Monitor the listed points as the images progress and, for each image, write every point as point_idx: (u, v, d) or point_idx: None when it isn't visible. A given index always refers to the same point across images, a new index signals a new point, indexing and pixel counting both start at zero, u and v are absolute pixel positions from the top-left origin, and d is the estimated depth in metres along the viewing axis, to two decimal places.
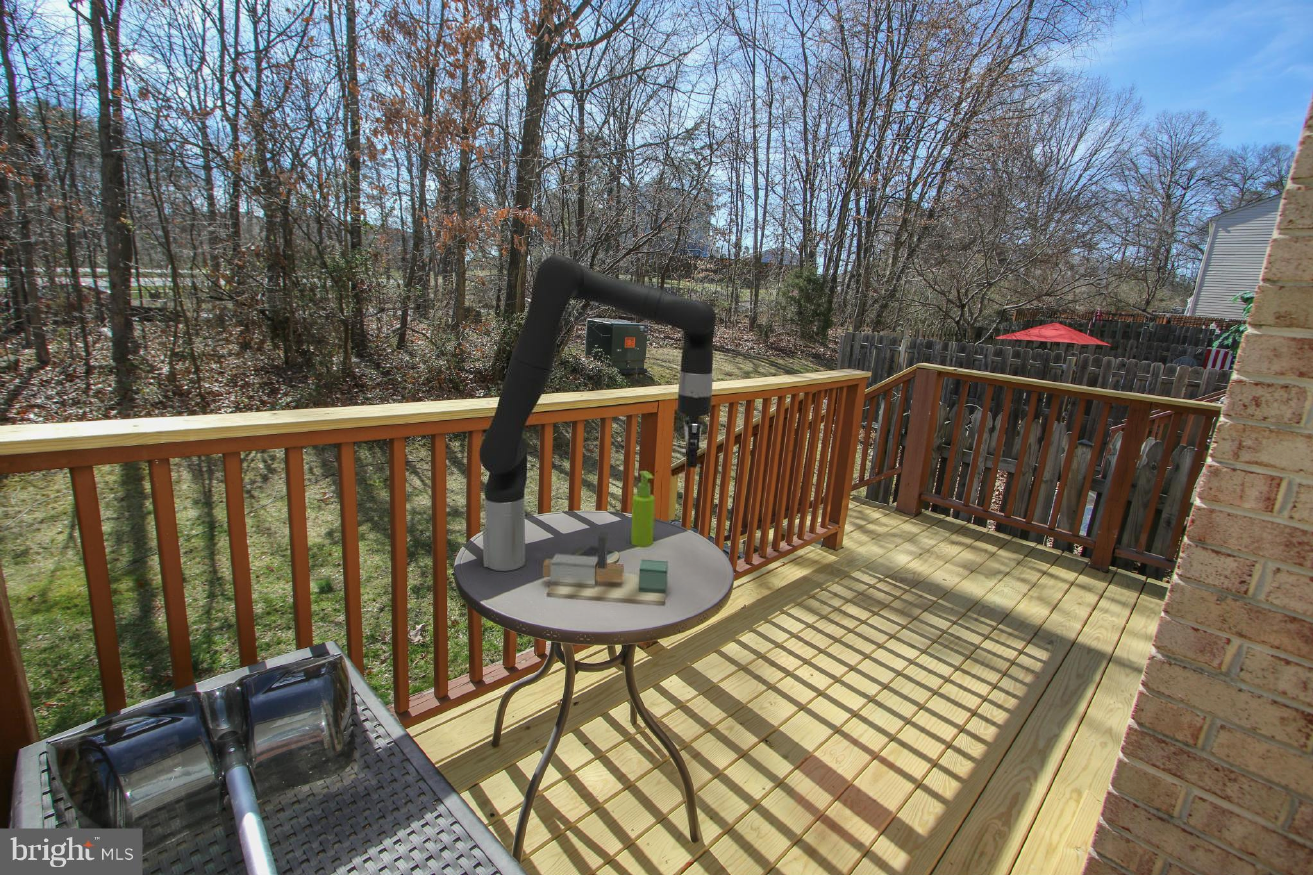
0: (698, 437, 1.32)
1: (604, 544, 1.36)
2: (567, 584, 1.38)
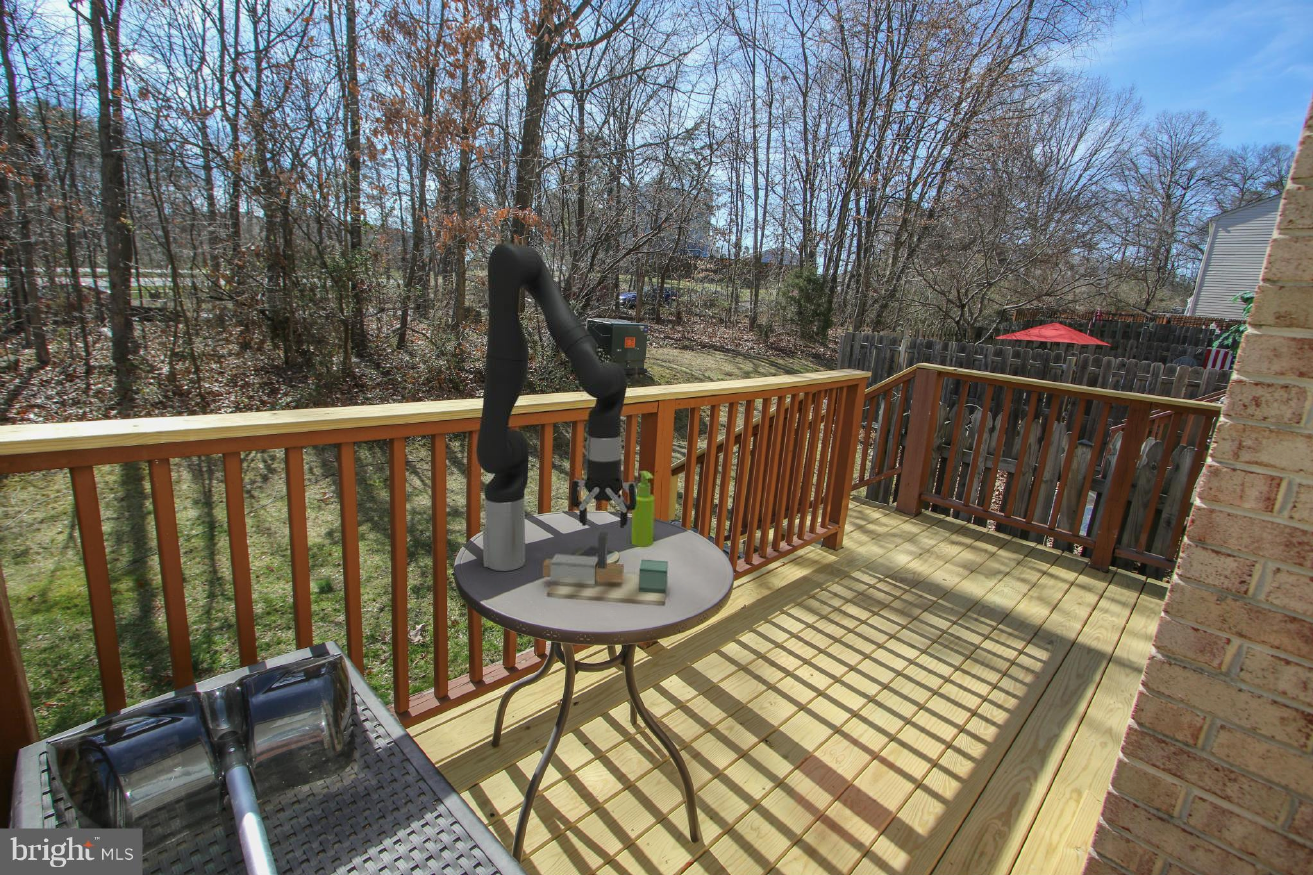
0: (635, 493, 1.35)
1: (604, 544, 1.36)
2: (567, 584, 1.38)
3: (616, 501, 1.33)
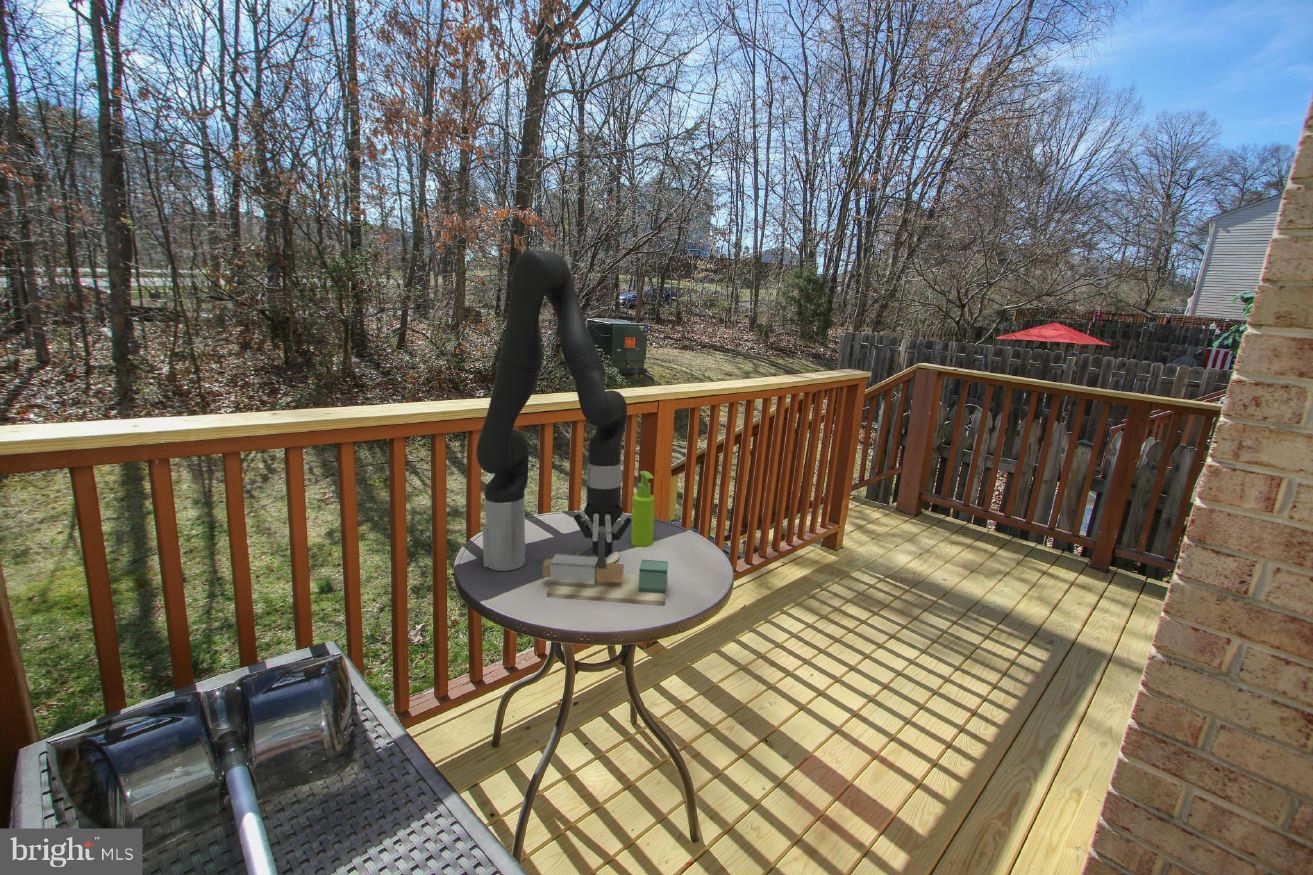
0: None
1: (604, 544, 1.36)
2: (567, 584, 1.38)
3: (607, 529, 1.35)
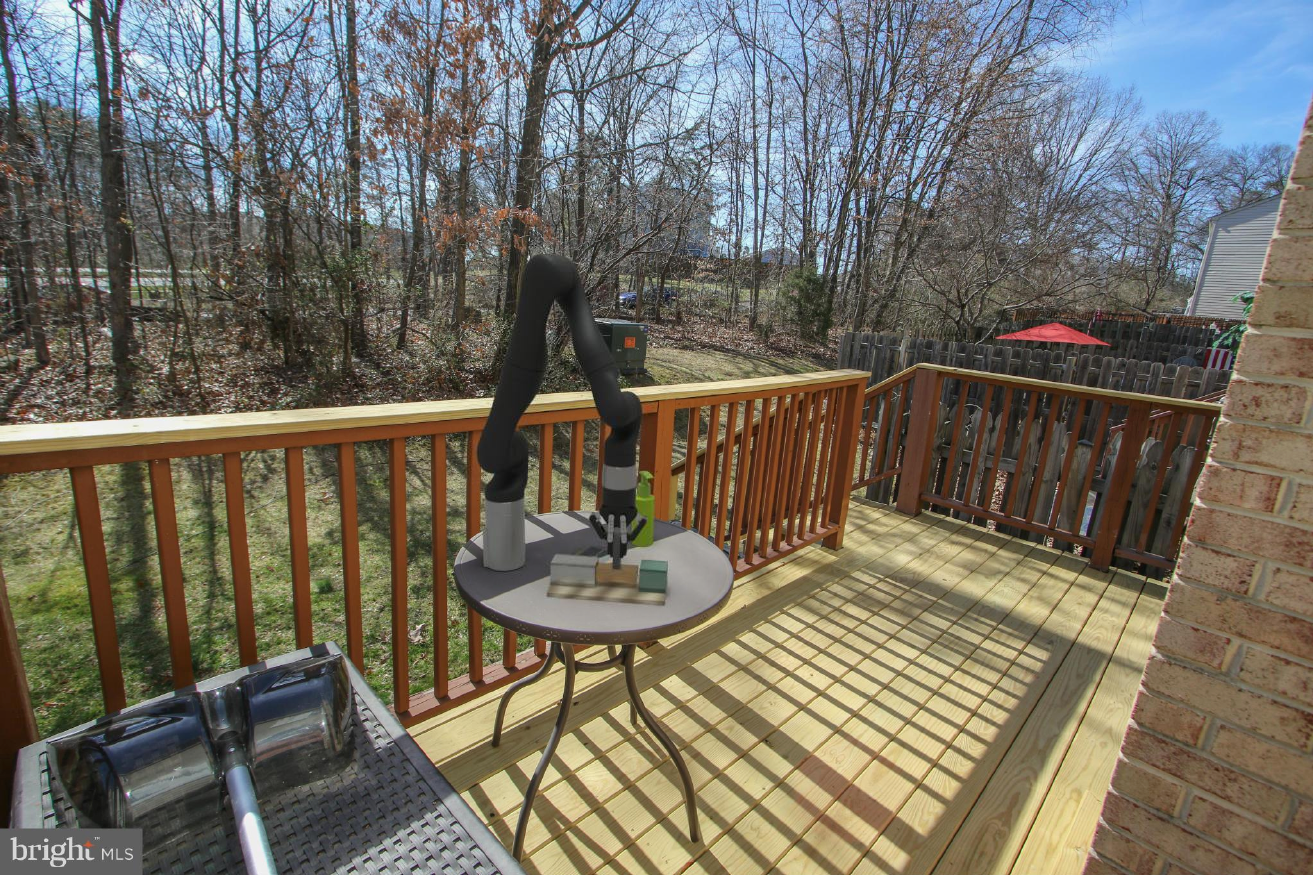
0: None
1: (619, 545, 1.36)
2: (567, 584, 1.38)
3: (623, 530, 1.34)
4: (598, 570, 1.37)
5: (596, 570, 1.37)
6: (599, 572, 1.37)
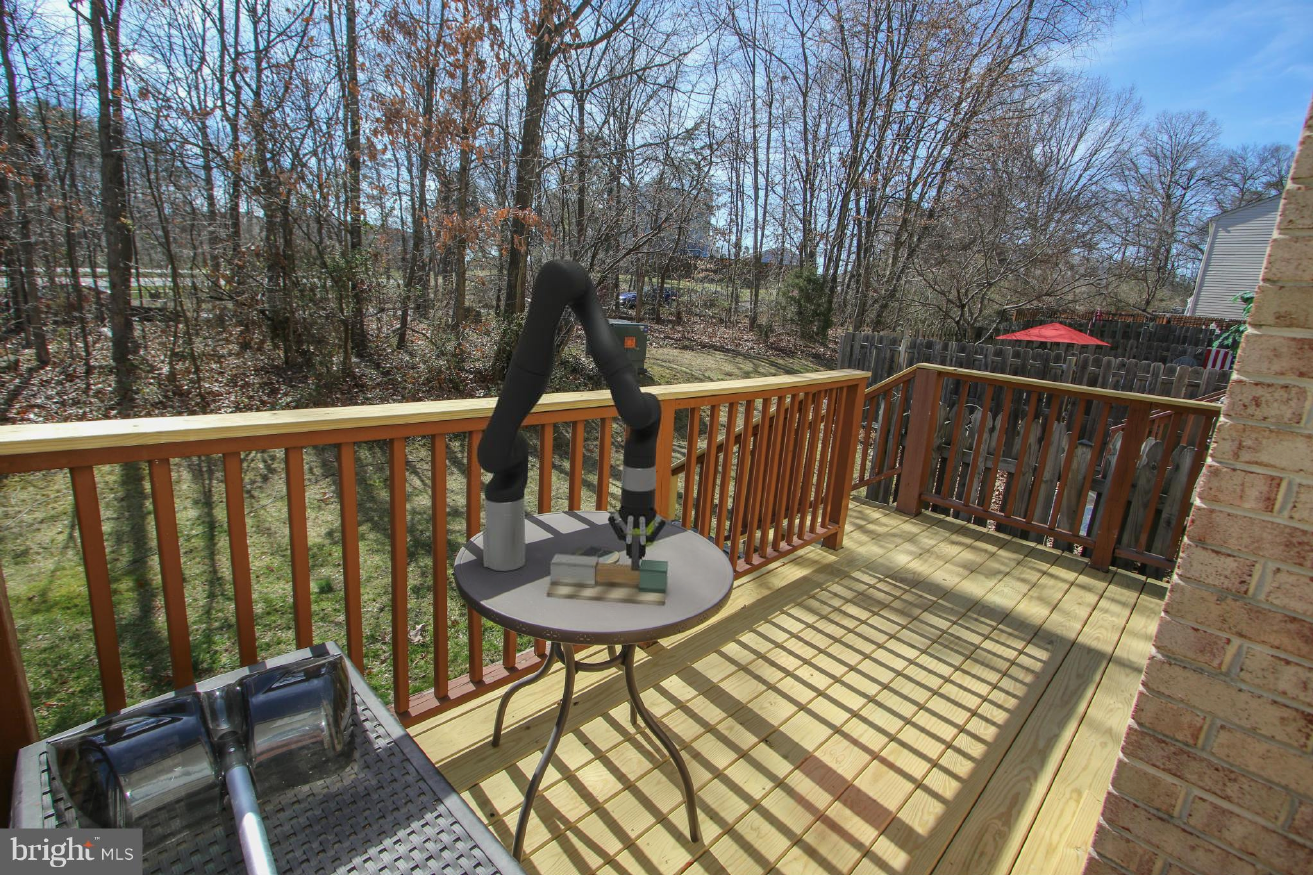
0: None
1: (638, 546, 1.35)
2: (567, 584, 1.38)
3: (642, 531, 1.34)
4: (617, 571, 1.37)
5: (615, 571, 1.37)
6: (618, 574, 1.37)
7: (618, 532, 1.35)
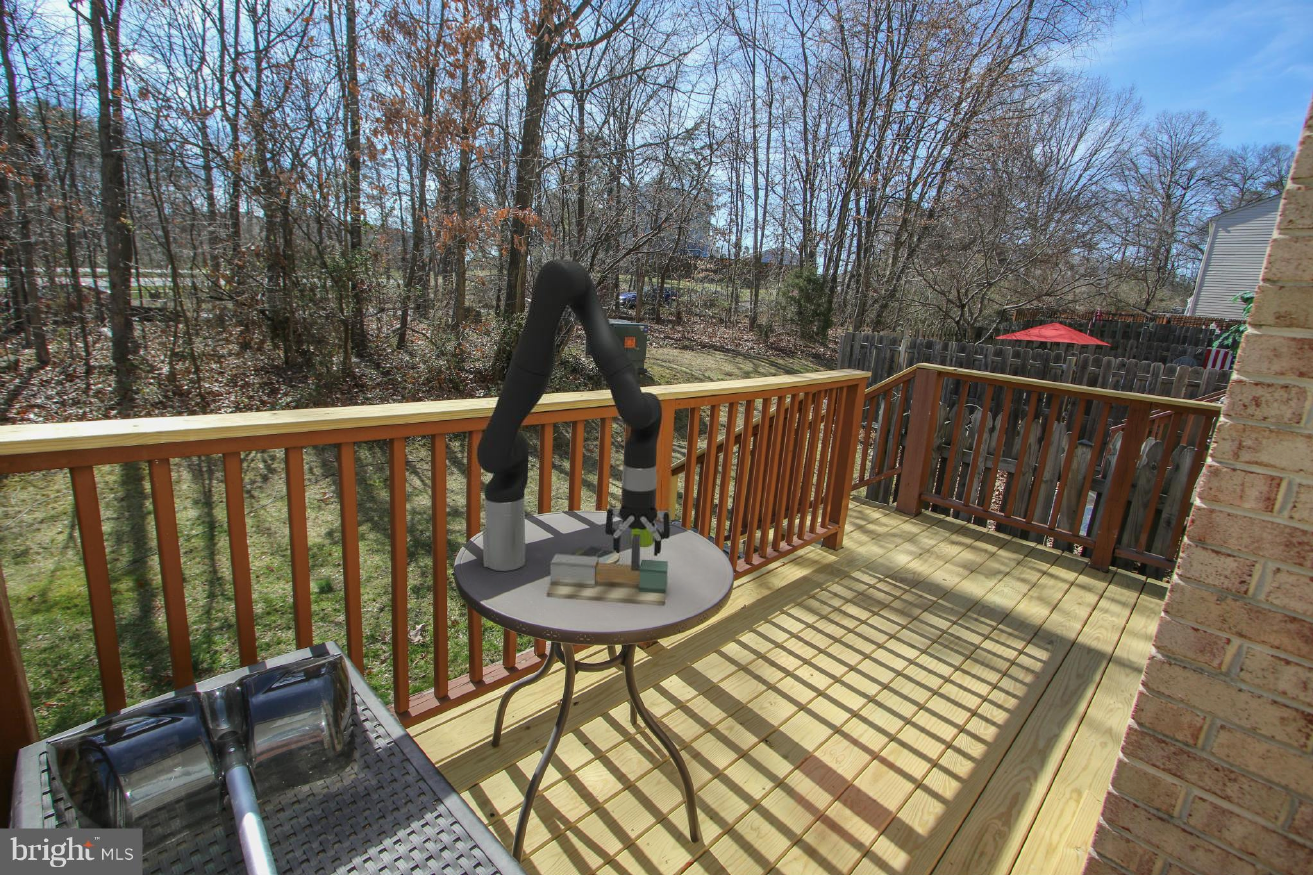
0: None
1: (638, 546, 1.35)
2: (567, 584, 1.38)
3: (651, 530, 1.34)
4: (617, 571, 1.37)
5: (615, 571, 1.37)
6: (618, 574, 1.37)
7: (609, 526, 1.35)
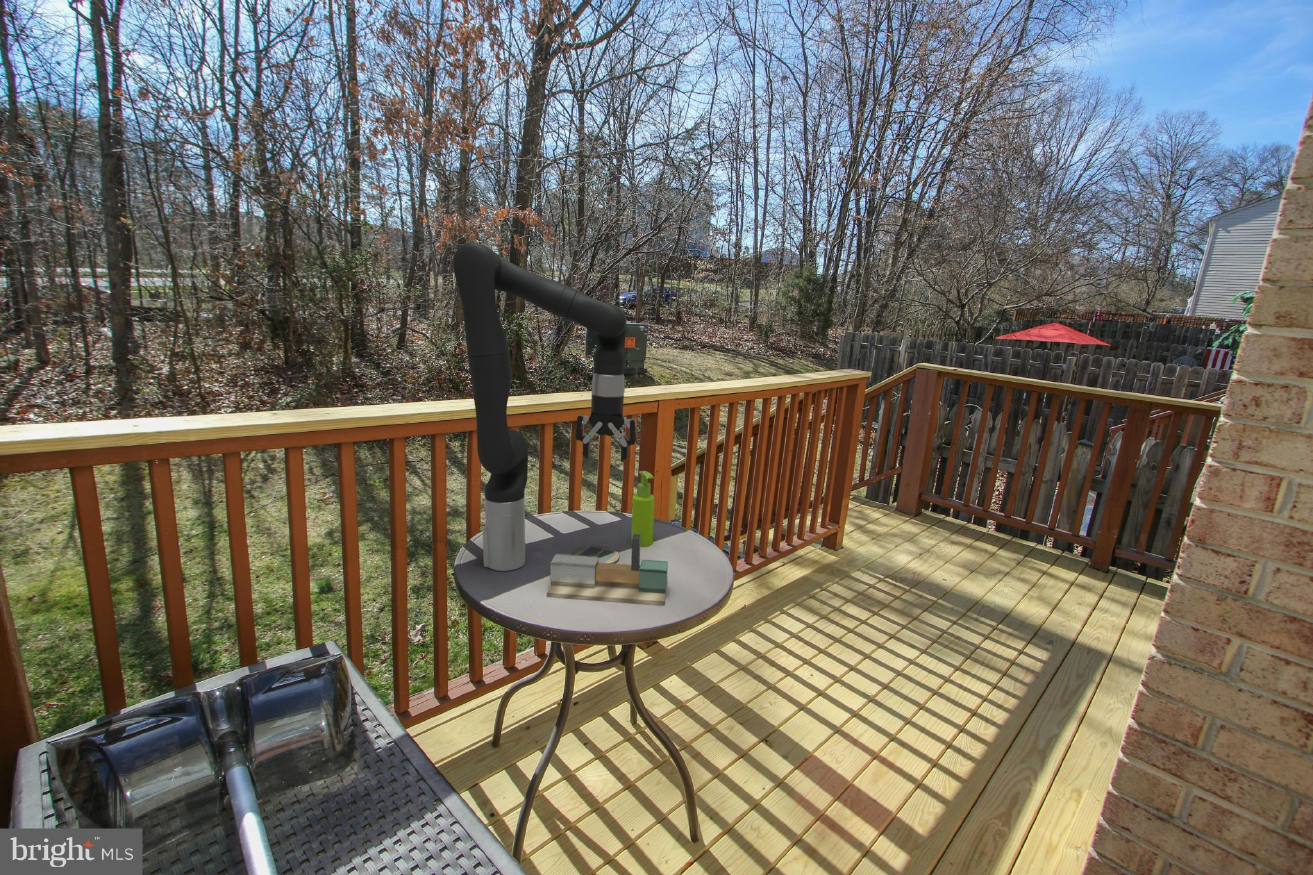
0: None
1: (638, 546, 1.35)
2: (567, 584, 1.38)
3: (617, 435, 1.43)
4: (617, 571, 1.37)
5: (615, 571, 1.37)
6: (618, 574, 1.37)
7: (578, 432, 1.44)
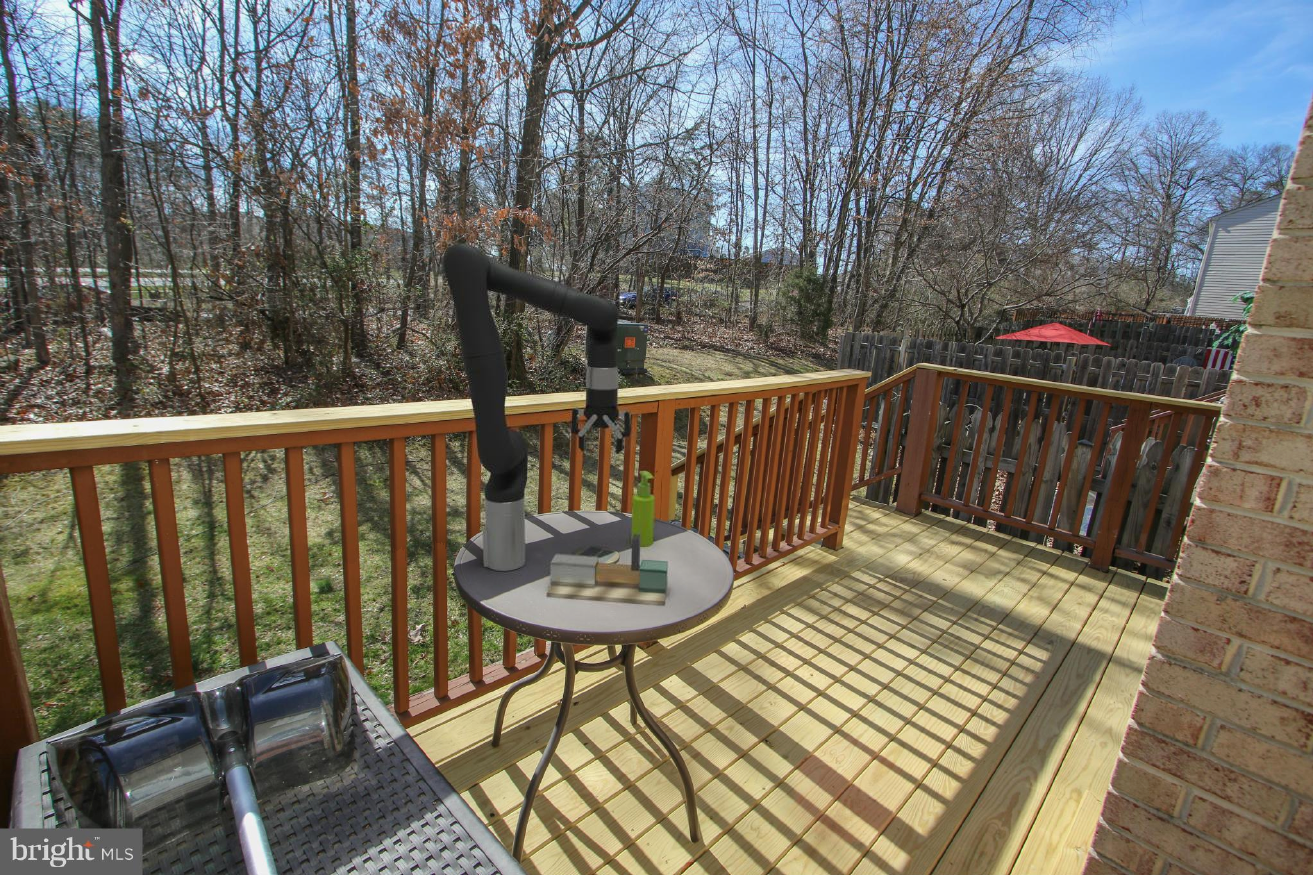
0: (630, 422, 1.47)
1: (638, 546, 1.35)
2: (567, 584, 1.38)
3: (612, 428, 1.45)
4: (617, 571, 1.37)
5: (615, 571, 1.37)
6: (618, 574, 1.37)
7: (574, 425, 1.46)
